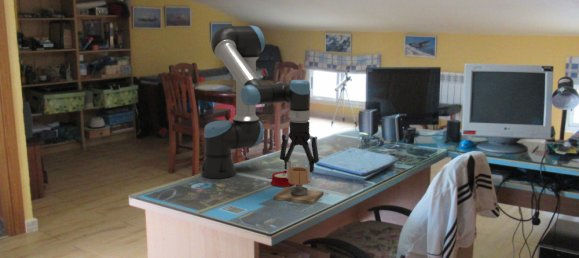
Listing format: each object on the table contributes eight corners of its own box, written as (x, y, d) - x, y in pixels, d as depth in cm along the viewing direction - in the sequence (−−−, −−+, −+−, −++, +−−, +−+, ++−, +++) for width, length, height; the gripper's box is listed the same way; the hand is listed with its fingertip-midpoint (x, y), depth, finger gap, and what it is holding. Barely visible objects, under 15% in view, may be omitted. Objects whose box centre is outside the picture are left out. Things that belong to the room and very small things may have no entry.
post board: (273, 199, 222) (273, 176, 220) (285, 189, 233) (285, 167, 232) (312, 204, 216) (313, 180, 214) (323, 194, 228) (323, 171, 226)
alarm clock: (263, 176, 240) (285, 162, 250) (266, 190, 242) (287, 174, 252) (283, 181, 233) (305, 166, 244) (285, 194, 236) (306, 179, 246)
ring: (286, 183, 221) (286, 170, 220) (293, 178, 228) (293, 166, 228) (305, 185, 219) (305, 172, 218) (311, 180, 226) (312, 167, 225)
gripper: (270, 120, 219) (270, 178, 223) (322, 124, 212) (321, 184, 216) (278, 117, 226) (278, 173, 230) (328, 121, 219) (327, 179, 223)
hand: (299, 178), depth 223 cm, fingers closed on ring, 8 cm apart
